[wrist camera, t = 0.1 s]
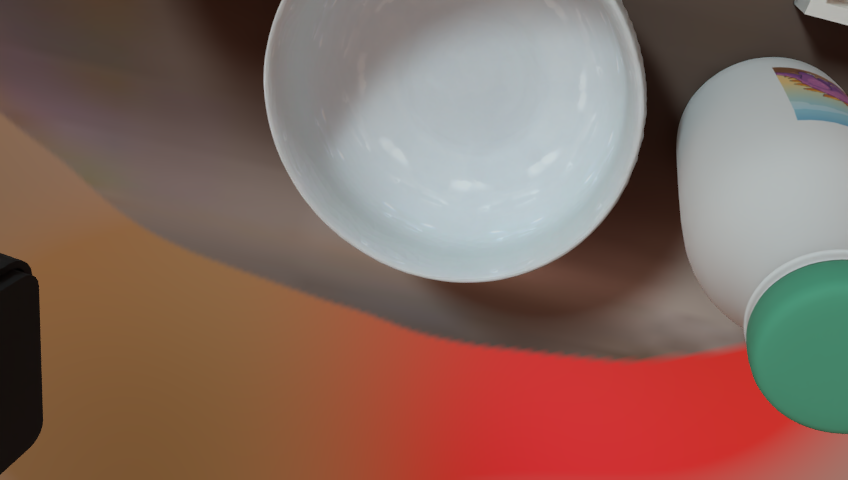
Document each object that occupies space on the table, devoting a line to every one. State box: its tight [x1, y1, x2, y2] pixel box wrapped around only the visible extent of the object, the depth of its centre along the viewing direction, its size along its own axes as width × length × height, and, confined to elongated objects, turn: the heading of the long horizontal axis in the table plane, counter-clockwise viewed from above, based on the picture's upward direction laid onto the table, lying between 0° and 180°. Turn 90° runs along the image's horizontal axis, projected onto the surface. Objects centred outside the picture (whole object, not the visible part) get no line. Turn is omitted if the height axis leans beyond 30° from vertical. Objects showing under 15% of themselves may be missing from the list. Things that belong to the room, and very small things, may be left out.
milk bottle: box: [676, 57, 848, 434], centre depth 29 cm, size 8×8×20 cm
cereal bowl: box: [263, 0, 647, 283], centre depth 37 cm, size 17×17×7 cm
